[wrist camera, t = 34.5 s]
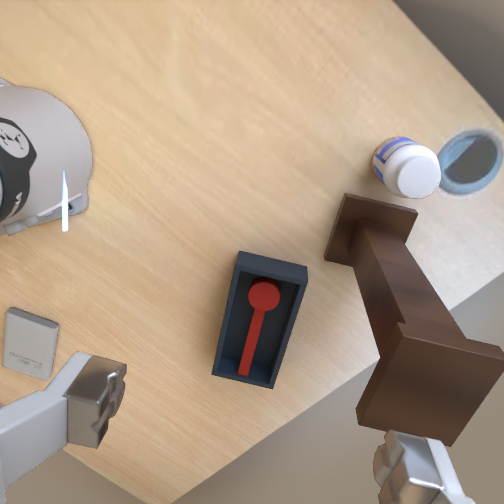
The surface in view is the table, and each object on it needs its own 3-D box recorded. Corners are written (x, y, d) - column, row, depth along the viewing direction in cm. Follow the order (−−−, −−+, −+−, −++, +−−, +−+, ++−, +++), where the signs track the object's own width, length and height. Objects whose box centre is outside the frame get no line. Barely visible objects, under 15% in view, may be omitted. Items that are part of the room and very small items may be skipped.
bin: (274, 370, 59) (272, 389, 56) (216, 356, 59) (211, 374, 56) (307, 266, 51) (308, 281, 47) (239, 250, 51) (235, 263, 47)
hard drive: (60, 323, 60) (51, 375, 65) (11, 306, 59) (7, 359, 65) (54, 329, 59) (46, 382, 64) (4, 311, 58) (0, 366, 63)
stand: (385, 277, 50) (464, 450, 27) (321, 261, 50) (344, 422, 27) (415, 209, 46) (540, 347, 22) (344, 192, 46) (396, 312, 22)
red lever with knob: (257, 374, 57) (256, 383, 55) (229, 367, 57) (227, 376, 55) (283, 280, 51) (283, 286, 50) (253, 273, 51) (252, 278, 50)
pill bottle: (413, 182, 44) (443, 208, 36) (368, 180, 45) (385, 206, 36) (423, 135, 42) (457, 151, 33) (375, 134, 42) (395, 149, 34)
